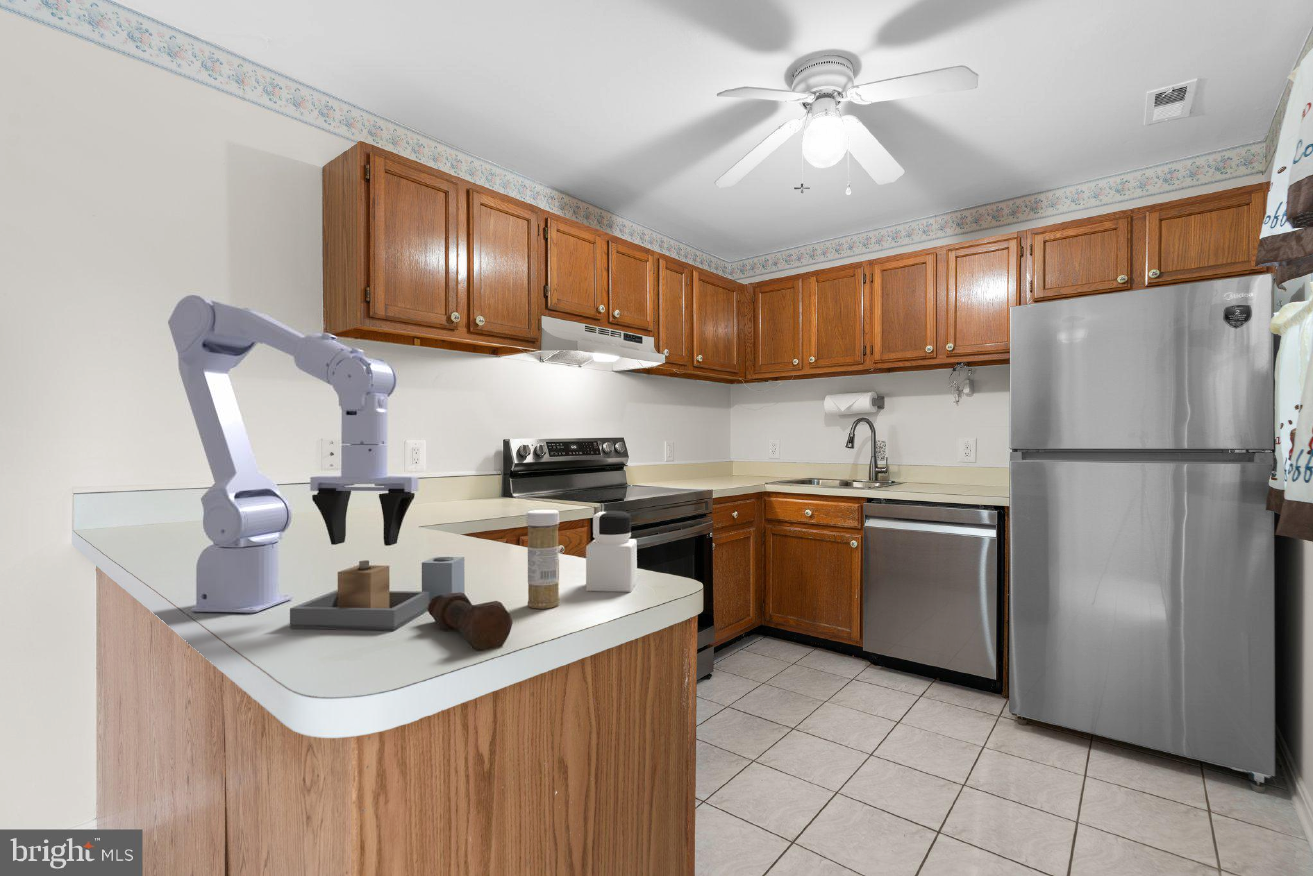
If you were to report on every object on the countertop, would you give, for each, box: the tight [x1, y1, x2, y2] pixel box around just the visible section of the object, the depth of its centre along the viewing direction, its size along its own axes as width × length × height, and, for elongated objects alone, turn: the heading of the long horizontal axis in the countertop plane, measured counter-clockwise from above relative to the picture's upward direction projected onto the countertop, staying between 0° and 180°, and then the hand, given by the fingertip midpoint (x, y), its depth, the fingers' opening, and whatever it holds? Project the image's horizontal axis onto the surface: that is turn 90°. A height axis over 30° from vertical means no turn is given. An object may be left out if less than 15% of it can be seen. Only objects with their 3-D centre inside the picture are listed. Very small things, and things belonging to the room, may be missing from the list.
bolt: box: [427, 592, 514, 652], centre depth 75 cm, size 6×5×15 cm
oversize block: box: [421, 556, 466, 603], centre depth 90 cm, size 4×4×6 cm
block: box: [337, 560, 390, 608], centre depth 81 cm, size 4×4×7 cm
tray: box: [289, 589, 430, 632], centre depth 81 cm, size 14×10×2 cm
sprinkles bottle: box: [526, 509, 560, 610], centre depth 87 cm, size 5×5×14 cm
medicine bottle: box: [585, 510, 638, 593], centre depth 98 cm, size 7×7×12 cm
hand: (364, 544), depth 84 cm, fingers open, 7 cm apart
